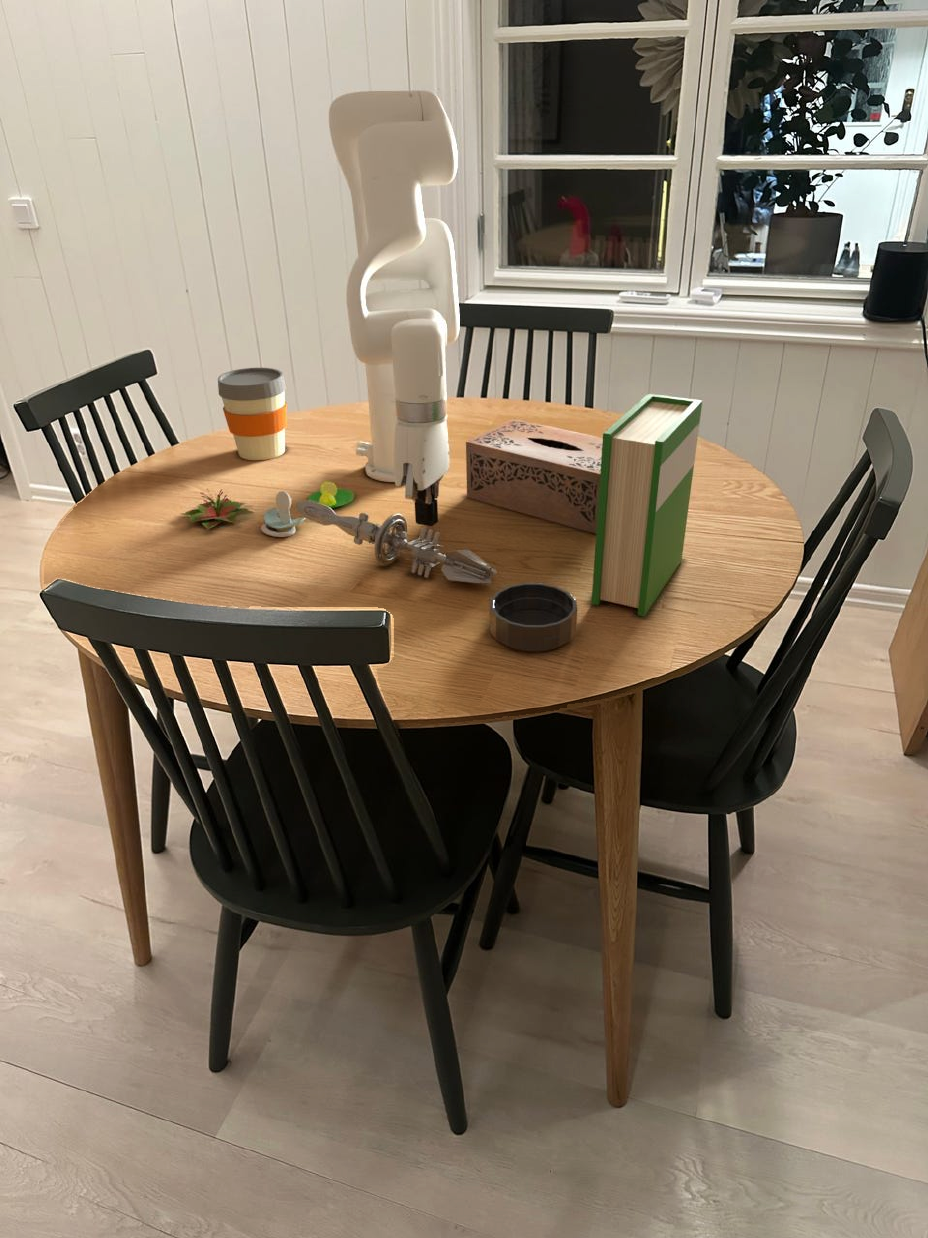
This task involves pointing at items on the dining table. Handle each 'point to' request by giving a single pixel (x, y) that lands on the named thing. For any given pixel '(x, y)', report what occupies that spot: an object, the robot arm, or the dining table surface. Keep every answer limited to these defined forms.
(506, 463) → the tissue box cover
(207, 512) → the lily flower
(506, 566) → the dining table surface
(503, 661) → the dining table surface
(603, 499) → the hardback book
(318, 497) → the green plate with lemon
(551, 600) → the ashtray
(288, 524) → the pacifier
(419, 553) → the spaceship
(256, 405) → the reusable coffee cup
